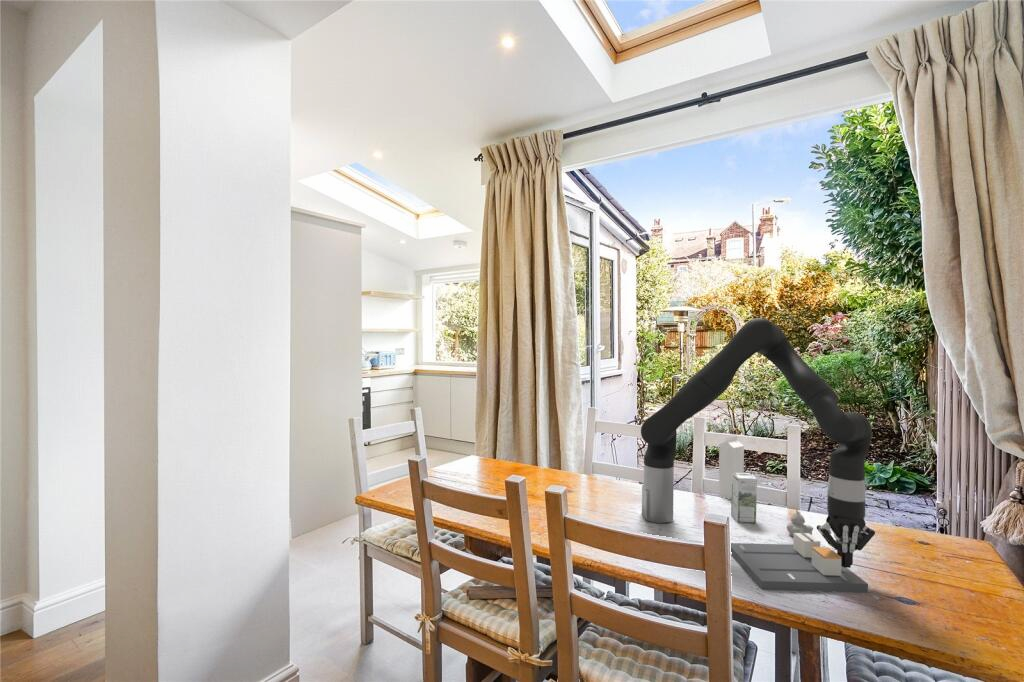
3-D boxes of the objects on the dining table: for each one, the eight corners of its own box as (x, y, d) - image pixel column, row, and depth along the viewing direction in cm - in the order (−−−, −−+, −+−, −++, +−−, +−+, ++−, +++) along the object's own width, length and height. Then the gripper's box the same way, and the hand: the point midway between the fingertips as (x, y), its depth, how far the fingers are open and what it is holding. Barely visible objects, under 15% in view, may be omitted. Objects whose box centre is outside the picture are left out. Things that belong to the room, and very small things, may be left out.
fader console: (761, 589, 111) (761, 580, 111) (726, 550, 131) (727, 542, 131) (868, 592, 109) (868, 583, 109) (816, 552, 129) (816, 544, 129)
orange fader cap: (823, 575, 113) (824, 556, 113) (811, 564, 118) (811, 546, 118) (841, 575, 113) (841, 556, 113) (828, 565, 118) (828, 547, 118)
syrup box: (749, 516, 155) (749, 472, 154) (756, 523, 149) (757, 477, 148) (730, 515, 155) (731, 471, 155) (737, 523, 149) (738, 477, 149)
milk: (743, 497, 173) (744, 437, 172) (732, 500, 170) (734, 439, 169) (728, 492, 178) (729, 434, 177) (718, 495, 175) (719, 435, 174)
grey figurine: (788, 530, 144) (788, 504, 143) (814, 536, 140) (814, 509, 139) (785, 536, 139) (785, 509, 139) (811, 543, 135) (812, 515, 135)
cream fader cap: (804, 557, 122) (804, 539, 122) (793, 548, 127) (793, 531, 127) (820, 557, 122) (820, 540, 122) (808, 548, 127) (809, 532, 127)
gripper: (827, 500, 111) (826, 573, 112) (885, 501, 111) (884, 574, 111) (809, 489, 119) (807, 558, 119) (863, 490, 118) (862, 559, 119)
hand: (844, 565), depth 115 cm, fingers closed
